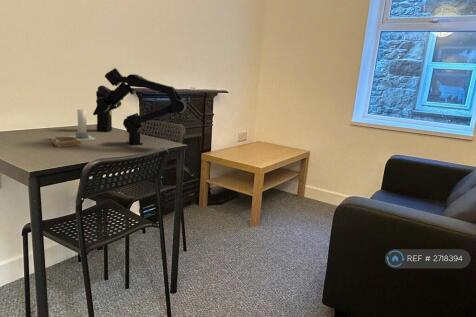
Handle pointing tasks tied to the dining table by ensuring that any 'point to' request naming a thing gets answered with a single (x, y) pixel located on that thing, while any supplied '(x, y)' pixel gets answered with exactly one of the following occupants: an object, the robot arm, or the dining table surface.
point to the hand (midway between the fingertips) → (97, 113)
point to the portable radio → (104, 118)
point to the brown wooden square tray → (66, 141)
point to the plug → (82, 125)
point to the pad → (85, 139)
